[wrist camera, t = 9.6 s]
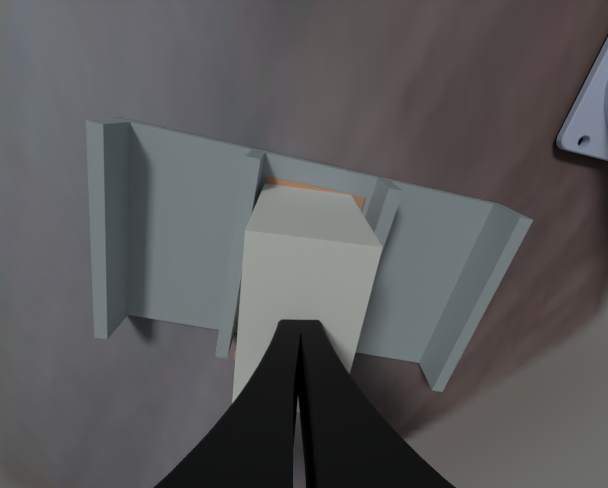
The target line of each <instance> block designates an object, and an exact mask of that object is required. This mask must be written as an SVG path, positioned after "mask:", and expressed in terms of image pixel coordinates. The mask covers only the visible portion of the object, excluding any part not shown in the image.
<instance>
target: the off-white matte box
mask: <svg viewBox="0 0 608 488" xmlns="http://www.w3.org/2000/svg"><path fill="white" fill-rule="evenodd" d="M382 248H383V247H382V245H381V244H380V242H379V240H378V239H377V237H376V235H375V234H374V232H373V230H372V229H371V227H370V225H369V224H368V222H367V221H366V219H365V217H364V216H363V214H362V212H361V211H360V209H359V207H358V206H357V204H356V202H355V201H354V199H353V197H352V196H351V195H348V194H340V193H333V192H326V191H318V190H311V189H303V188H296V187H289V186H281V185H274V184H267V183H265V184H264V186H263V189H262V191H261V194H260V196H259V198H258V201H257V203H256V205H255V208H254V210H253V212H252V215H251V217H250V220H249V222H248V224H247V227H246V229H245V237H244V251H243V264H242V278H241V291H240V305H239V318H238V332H237V345H236V359H235V372H234V386H233V399H232V403H233V402H234V401H235V399H236V398H237V397H238V395H239V394H240V393H241V391H242V390H243V388H244V387H245V385H246V384H247V382H248V381H249V379H250V378H251V376H252V374H253V373H254V371H255V370H256V368H257V366H258V365H259V363H260V361H261V359H262V358H263V356H264V354H265V352H266V350H267V348H268V346H269V344H270V342H271V340H272V338H273V336H274V333H275V331H276V328H277V324H278V322H279V321H280V320H281V319H293V320H319V321H320V322H321V323H322V326H323V328H324V330H325V333H326V335H327V337H328V339H329V341H330V343H331V344H332V346H333V348H334V350H335V352H336V353H337V355H338V357H339V358H340V360H341V362H342V363H343V365H344V367H345V368H346V370H347V371H348V373H349V374H350V371H351V367H352V363H353V359H354V356H355V352H356V348H357V344H358V340H359V336H360V332H361V329H362V325H363V321H364V317H365V313H366V309H367V306H368V302H369V298H370V294H371V290H372V286H373V282H374V279H375V275H376V271H377V267H378V263H379V259H380V255H381V252H382ZM297 412H299V413H300V410H299V399H298V402H297Z"/></svg>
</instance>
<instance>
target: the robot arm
mask: <svg viewBox="0 0 608 488" xmlns="http://www.w3.org/2000/svg"><path fill="white" fill-rule="evenodd" d="M581 137H583V140H582V143H581V144H580V145H578V140H579V139H580V138H581ZM556 143H557V146H558V148H560V149H562V150H566V151H570V152H574V153H578V154H582V155H586V156H590V157H594V158H598V159H602V160H606V161H608V37H607V39H606V41H605V43H604V45H603V47H602V49H601V51H600V53H599V55H598V57H597V59H596V61H595V63H594V65H593V67H592V69H591V71H590V73H589V75H588V77H587V79H586V81H585V83H584V85H583V87H582V89H581V91H580V93H579V95H578V97H577V99H576V101H575V103H574V105H573V107H572V109H571V111H570V112H569V114H568V116H567V118H566V120H565V122H564V124H563V126H562V128H561V130H560V132H559V134H558V136H557V140H556ZM298 399H299V410H300V421H301V431H302V441H303V452H304V462H305V476H306V488H455V487H454V486H453V485H452V484H450V483H449V482H448V481H447V480H445V479H444V478H443V477H442V476H441V475H440V474H439V473H438V472H437V471H435V470H434V469H433V468H432V467H431V466H430V465H429V464H428V463H427V462H426V461H425V460H423V459H422V458H421V457H420V456H419V455H418V454H417V453H416V452H415V451H414V450H413V449H412V448H411V447H410V446H409V445H408V444H407V443H406V442H405V441H404V440H403V439H402V438H401V436H400V435H399V434H398V433H397V432H396V431H395V430H394V429H393V428H392V427H391V426H390V425H389V424H388V423H387V422H386V420H385V419H384V418H383V417H382V416H381V415H380V414H379V413H378V411H377V410H376V409H375V408H374V406H373V405H372V404H371V403H370V402H369V400H368V399H367V398H366V396H365V395H364V394H363V393H362V391H361V390H360V389H359V387H358V386H357V384H356V383H355V381H354V380H353V379H352V377H351V376H350V374H349V373H348V371H347V370H346V368H345V367H344V365H343V363H342V362H341V360H340V358H339V357H338V355H337V353H336V352H335V350H334V348H333V346H332V344H331V343H330V341H329V339H328V337H327V335H326V333H325V330H324V328H323V326H322V323H321V322H320V321H319V320H293V319H281V320H280V321H279V322H278V324H277V328H276V331H275V333H274V336H273V338H272V340H271V342H270V344H269V346H268V348H267V350H266V352H265V354H264V356H263V358H262V359H261V361H260V363H259V365H258V366H257V368H256V370H255V371H254V373H253V374H252V376H251V378H250V379H249V381H248V382H247V384H246V385H245V387H244V388H243V390H242V391H241V393H240V394H239V395H238V397H237V398H236V399H235V401H234V402H233V403H232V405H231V406H230V407H229V409H228V410H227V411H226V412H225V414H224V415H223V416H222V417H221V418H220V420H219V421H218V422H217V423H216V424H215V426H214V427H213V428H212V429H211V430H210V431H209V433H208V434H207V435H206V436H205V437H204V438H203V439H202V440H201V441H200V442H199V444H198V445H197V446H196V447H195V448H194V449H193V450H192V451H191V452H190V453H189V454H188V455H187V456H186V457H185V458H184V459H183V460H182V461H181V462H180V463H179V464H178V465H177V466H176V467H175V468H174V469H173V470H172V471H171V472H170V473H169V474H168V475H167V476H166V477H165V478H164V479H163V480H161V481H160V482H159V483H158V484H157V485H156V486H155V487H154V488H293V445H294V434H295V424H296V413H297V402H298Z"/></svg>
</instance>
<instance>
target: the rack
mask: <svg viewBox="0 0 608 488" xmlns="http://www.w3.org/2000/svg"><path fill="white" fill-rule="evenodd" d="M86 135H87V161H88V187H89V212H90V238H91V264H92V289H93V315H94V338H101V339H108V338H109V337H110V336H111V334H112V333H113V332H114V331H115V329H116V328H117V327H118V326H119V325H120V323H121V322H122V321H123V320H124V318H125V317H126V316H127V315H132V316H138V317H144V318H150V319H156V320H162V321H168V322H174V323H180V324H186V325H192V326H198V327H204V328H211V329H217V330H219V335H218V342H217V349H216V355H215V356H216V357H223V358H228V354H229V350H230V347H231V343H232V340H233V336H234V332H235V333H237V332H238V318H239V305H240V291H241V278H242V264H243V251H244V237H245V229H246V227H247V224H248V222H249V220H250V217H251V215H252V212H253V210H254V208H255V205H256V203H257V201H258V198H259V196H260V194H261V191H262V189H263V186H264V184H265V183H267V184H274V185H281V186H289V187H296V188H303V189H311V190H318V191H326V192H333V193H340V194H348V195H351V196H352V197H353V199H354V201H355V202H356V204H357V206H358V207H359V209H360V211H361V212H362V214H363V216H364V217H365V219H366V221H367V222H368V224H369V225H370V227H371V229H372V230H373V232H374V234H375V235H376V237H377V239H378V240H379V242H380V244H381V245H382V247H383V248H382V252H381V255H380V259H379V263H378V267H377V271H376V275H375V279H374V282H373V286H372V290H371V294H370V298H369V302H368V306H367V309H366V313H365V317H364V321H363V325H362V329H361V332H360V336H359V340H358V344H357V348H356V353H362V354H368V355H374V356H380V357H387V358H393V359H399V360H405V361H411V362H417V363H419V364H420V366H421V368H422V370H423V372H424V375H425V377H426V379H427V381H428V383H429V385H430V387H431V389H432V390H434V391H440V392H442V391H443V390H444V388H445V386H446V384H447V382H448V380H449V378H450V376H451V374H452V373H453V371H454V369H455V367H456V365H457V363H458V361H459V359H460V357H461V356H462V354H463V352H464V350H465V348H466V346H467V344H468V342H469V340H470V339H471V337H472V335H473V333H474V331H475V329H476V327H477V325H478V323H479V322H480V320H481V318H482V316H483V314H484V312H485V310H486V308H487V306H488V305H489V303H490V301H491V299H492V297H493V295H494V293H495V291H496V289H497V288H498V286H499V284H500V282H501V280H502V278H503V276H504V274H505V272H506V271H507V269H508V267H509V265H510V263H511V261H512V259H513V257H514V255H515V254H516V252H517V250H518V248H519V246H520V244H521V242H522V240H523V239H524V237H525V235H526V233H527V231H528V229H529V227H530V225H531V223H532V222H533V220H532V219H530V218H528V217H526V216H524V215H522V214H519V213H517V212H515V211H513V210H511V209H509V208H507V207H505V206H503V205H501V204H498V203H494V202H490V201H485V200H481V199H476V198H472V197H467V196H463V195H459V194H454V193H450V192H445V191H441V190H436V189H432V188H428V187H423V186H419V185H414V184H410V183H406V182H401V181H397V180H392V179H388V178H383V177H379V176H375V175H370V174H366V173H361V172H357V171H352V170H348V169H344V168H339V167H335V166H330V165H326V164H321V163H317V162H313V161H308V160H304V159H299V158H295V157H291V156H286V155H282V154H277V153H273V152H268V151H264V150H260V149H255V148H251V147H246V146H242V145H237V144H233V143H229V142H224V141H220V140H215V139H211V138H206V137H202V136H198V135H193V134H189V133H184V132H180V131H176V130H171V129H167V128H162V127H158V126H153V125H149V124H145V123H140V122H136V121H131V120H127V119H122V118H115V119H100V120H86ZM236 345H237V344H236ZM233 359H236V348H235V352H234V358H233Z"/></svg>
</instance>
